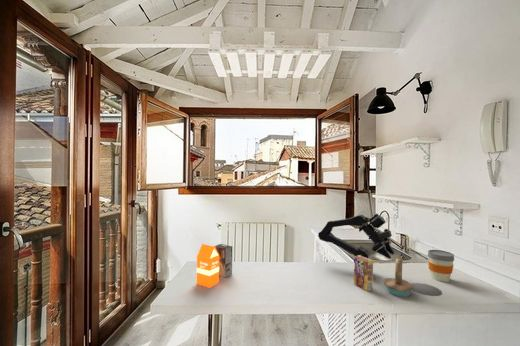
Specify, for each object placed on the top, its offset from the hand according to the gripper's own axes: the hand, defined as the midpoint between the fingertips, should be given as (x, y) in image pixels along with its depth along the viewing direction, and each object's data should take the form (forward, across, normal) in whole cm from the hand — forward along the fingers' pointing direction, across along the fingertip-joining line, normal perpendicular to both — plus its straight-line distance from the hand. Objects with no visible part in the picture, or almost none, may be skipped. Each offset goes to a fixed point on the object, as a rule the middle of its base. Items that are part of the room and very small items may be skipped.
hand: (392, 256), depth 151 cm
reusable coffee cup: (+25, +19, -6) cm, 32 cm away
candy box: (+2, -19, +17) cm, 26 cm away
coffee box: (-46, -52, +66) cm, 96 cm away
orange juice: (-44, -66, +64) cm, 102 cm away
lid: (+11, -15, +3) cm, 19 cm away
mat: (+21, -3, -2) cm, 21 cm away
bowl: (+14, -15, +6) cm, 21 cm away
